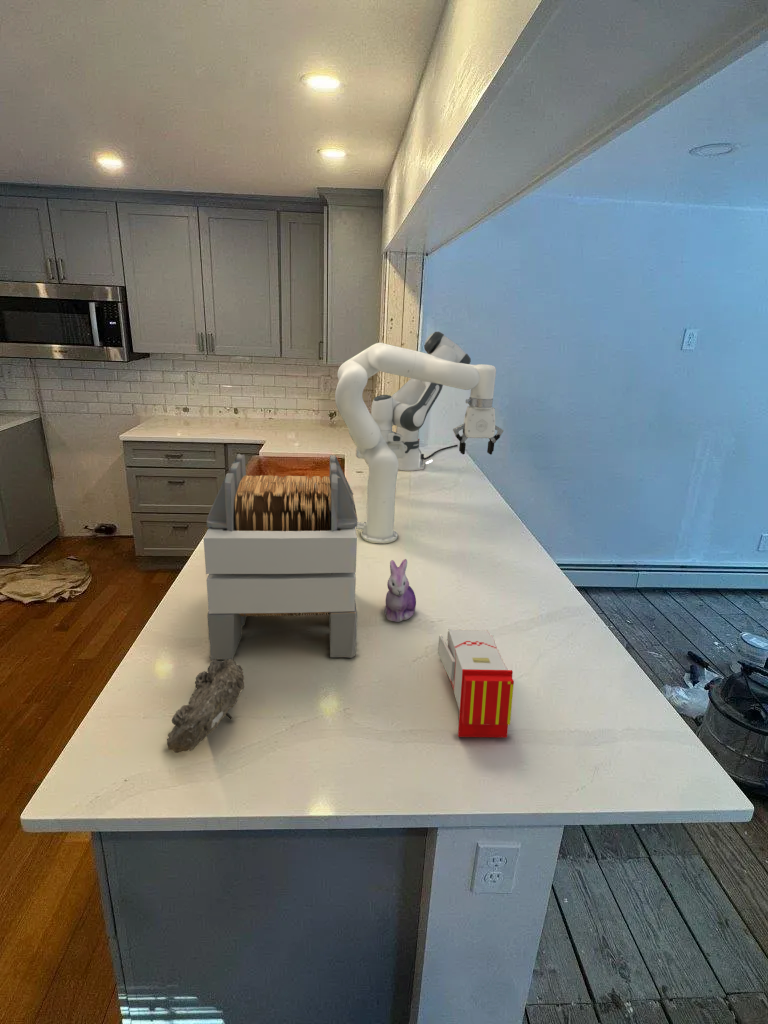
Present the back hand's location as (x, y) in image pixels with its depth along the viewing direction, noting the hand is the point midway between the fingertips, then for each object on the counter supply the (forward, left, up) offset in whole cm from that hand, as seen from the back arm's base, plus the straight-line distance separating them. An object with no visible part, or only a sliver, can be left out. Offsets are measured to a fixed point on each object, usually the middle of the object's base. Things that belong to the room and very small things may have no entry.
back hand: (379, 468), depth 236 cm
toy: (+117, +58, -12) cm, 131 cm away
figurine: (+92, +36, -12) cm, 99 cm away
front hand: (+28, +43, +18) cm, 54 cm away
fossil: (+142, +13, -12) cm, 143 cm away
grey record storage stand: (+106, +10, -12) cm, 107 cm away
